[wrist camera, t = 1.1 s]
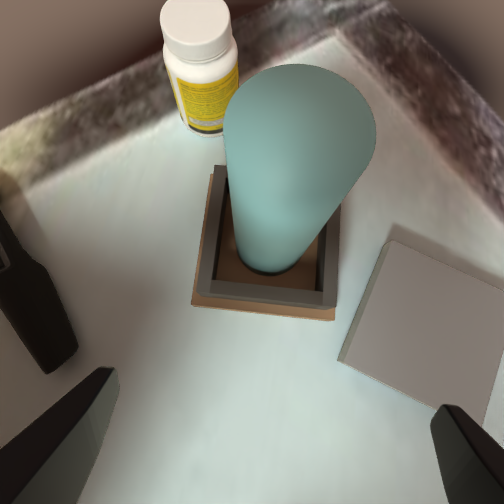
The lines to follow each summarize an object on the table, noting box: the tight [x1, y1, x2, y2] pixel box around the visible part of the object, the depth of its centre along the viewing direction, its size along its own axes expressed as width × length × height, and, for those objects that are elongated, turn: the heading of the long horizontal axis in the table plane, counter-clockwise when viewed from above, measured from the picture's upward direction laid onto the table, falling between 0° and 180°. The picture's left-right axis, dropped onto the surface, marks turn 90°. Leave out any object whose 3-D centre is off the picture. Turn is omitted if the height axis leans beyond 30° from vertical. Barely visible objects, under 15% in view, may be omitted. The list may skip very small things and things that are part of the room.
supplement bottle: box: [160, 0, 239, 137], centre depth 22 cm, size 5×5×8 cm
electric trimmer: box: [0, 211, 78, 374], centre depth 22 cm, size 4×16×3 cm, turn 36°
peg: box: [223, 64, 376, 276], centre depth 16 cm, size 5×5×13 cm
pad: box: [337, 240, 504, 427], centre depth 22 cm, size 9×9×2 cm
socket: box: [191, 165, 341, 321], centre depth 22 cm, size 9×9×4 cm
